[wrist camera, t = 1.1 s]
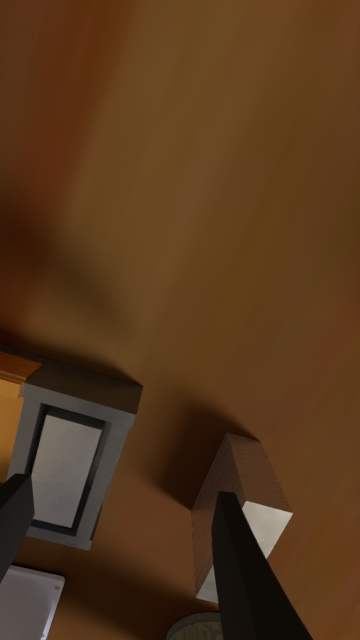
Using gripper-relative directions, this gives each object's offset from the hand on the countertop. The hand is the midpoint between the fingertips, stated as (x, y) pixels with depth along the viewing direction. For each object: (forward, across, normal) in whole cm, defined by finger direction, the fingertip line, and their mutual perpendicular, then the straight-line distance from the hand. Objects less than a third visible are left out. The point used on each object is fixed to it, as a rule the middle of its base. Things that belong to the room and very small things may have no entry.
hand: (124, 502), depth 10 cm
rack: (+9, +11, +5) cm, 15 cm away
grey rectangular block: (+10, -7, +9) cm, 15 cm away
